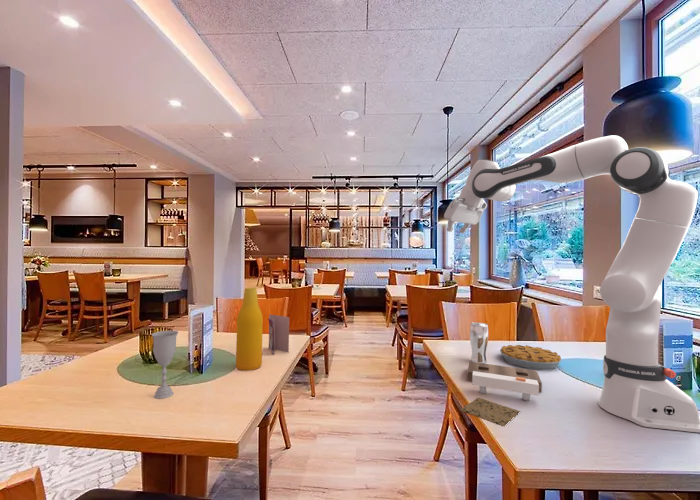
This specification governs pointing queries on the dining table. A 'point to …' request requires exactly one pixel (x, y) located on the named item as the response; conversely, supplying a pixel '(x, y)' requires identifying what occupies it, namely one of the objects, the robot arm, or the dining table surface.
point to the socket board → (503, 371)
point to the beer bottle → (249, 333)
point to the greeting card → (278, 333)
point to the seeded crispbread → (490, 411)
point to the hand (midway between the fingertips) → (455, 232)
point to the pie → (530, 357)
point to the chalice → (164, 358)
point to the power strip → (505, 383)
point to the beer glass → (479, 342)
